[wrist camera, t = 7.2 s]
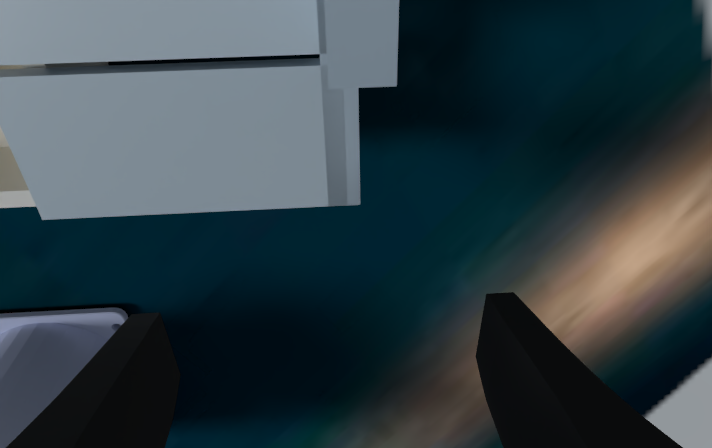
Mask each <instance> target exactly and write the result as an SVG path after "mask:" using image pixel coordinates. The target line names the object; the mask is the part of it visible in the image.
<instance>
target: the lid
mask: <svg viewBox="0 0 712 448" xmlns="http://www.w3.org/2000/svg"><path fill="white" fill-rule="evenodd" d="M398 27H399V0H0V65H26V64H54V63H82V62H111V61H139V60H167V59H195V58H223V57H251V56H280V55H308V54H320V58H307V59H279V60H251V61H223V62H196V63H168V64H140V65H112V66H84V67H56V68H28V69H0V127H1V129H2V131H3V133H4V135H5V138H6V140H7V142H8V144H9V147H10V149H11V151H12V153H13V155H14V158H15V160H16V162H17V164H18V167H19V169H20V171H21V173H22V175H23V178H24V180H25V182H26V184H27V187H28V189H29V191H30V193H31V196H32V198H33V200H34V202H35V204H36V207H37V209H38V211H39V213H40V216H41V218H42V220H49V219H70V218H91V217H112V216H133V215H154V214H176V213H197V212H218V211H239V210H260V209H281V208H302V207H323V206H345V205H360V156H359V94H358V88H368V87H394V86H397V63H398Z"/></svg>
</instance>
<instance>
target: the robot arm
mask: <svg viewBox="0 0 712 448" xmlns="http://www.w3.org/2000/svg"><path fill="white" fill-rule="evenodd" d="M117 324H119V325H117ZM120 325H121V326H120ZM476 359H477V364H478V368H479V372H480V377H481V381H482V385H483V389H484V393H485V397H486V401H487V403H488V406H489V409H490V412H491V415H492V417H493V420H494V423H495V426H496V428H497V431H498V434H499V437H500V439H501V442H502V445H503V447H504V448H683V447H681V446H680V445H678V444H677V443H676V442H675V441H673V440H672V439H671V438H670V437H668V436H667V435H665V434H664V433H663V432H662V431H661V430H659V429H658V428H657V427H655V426H654V425H653V424H652V423H650V422H649V421H648V420H646V419H645V418H644V417H643V416H641V415H640V414H639V413H638V412H637V411H635V410H634V409H633V408H632V407H631V406H629V405H628V404H627V403H626V402H625V401H624V400H622V399H621V398H620V397H619V396H618V395H617V394H616V393H615V392H613V391H612V390H611V389H610V388H609V387H608V386H607V385H606V384H604V383H603V382H602V381H601V380H600V379H599V378H598V377H597V376H596V375H595V374H594V373H593V372H591V371H590V370H589V369H588V368H587V367H586V366H585V365H584V364H583V363H582V362H581V361H580V360H579V359H578V358H577V357H576V356H575V355H574V354H573V353H572V352H571V351H570V350H569V349H568V348H567V347H566V346H565V345H564V344H563V343H562V342H561V341H560V340H559V339H558V338H557V337H556V336H555V335H554V334H553V333H552V332H551V331H550V330H549V329H548V328H547V327H546V326H545V325H544V324H543V323H542V322H541V321H540V320H539V318H538V317H537V316H536V315H535V314H534V313H533V312H532V311H531V310H530V309H529V308H528V307H527V306H526V305H525V304H524V303H523V302H522V301H521V300H520V298H519V297H518V296H517V295H516V294H514V293H513V292H512V293H494V294H486V299H485V305H484V311H483V317H482V323H481V329H480V335H479V340H478V346H477V352H476ZM180 375H181V374H180V371H179V368H178V365H177V362H176V359H175V356H174V353H173V350H172V347H171V344H170V341H169V338H168V335H167V332H166V329H165V326H164V323H163V320H162V317H161V314H160V313H144V314H131V316H130V317H129V318H128V315H127V314H126V312H125V311H124V310H122V309H120V308H114V307H113V308H95V309H76V310H58V311H40V312H21V313H3V314H0V448H165V444H166V441H167V438H168V434H169V431H170V427H171V424H172V420H173V416H174V410H175V405H176V400H177V394H178V387H179V381H180Z"/></svg>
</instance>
